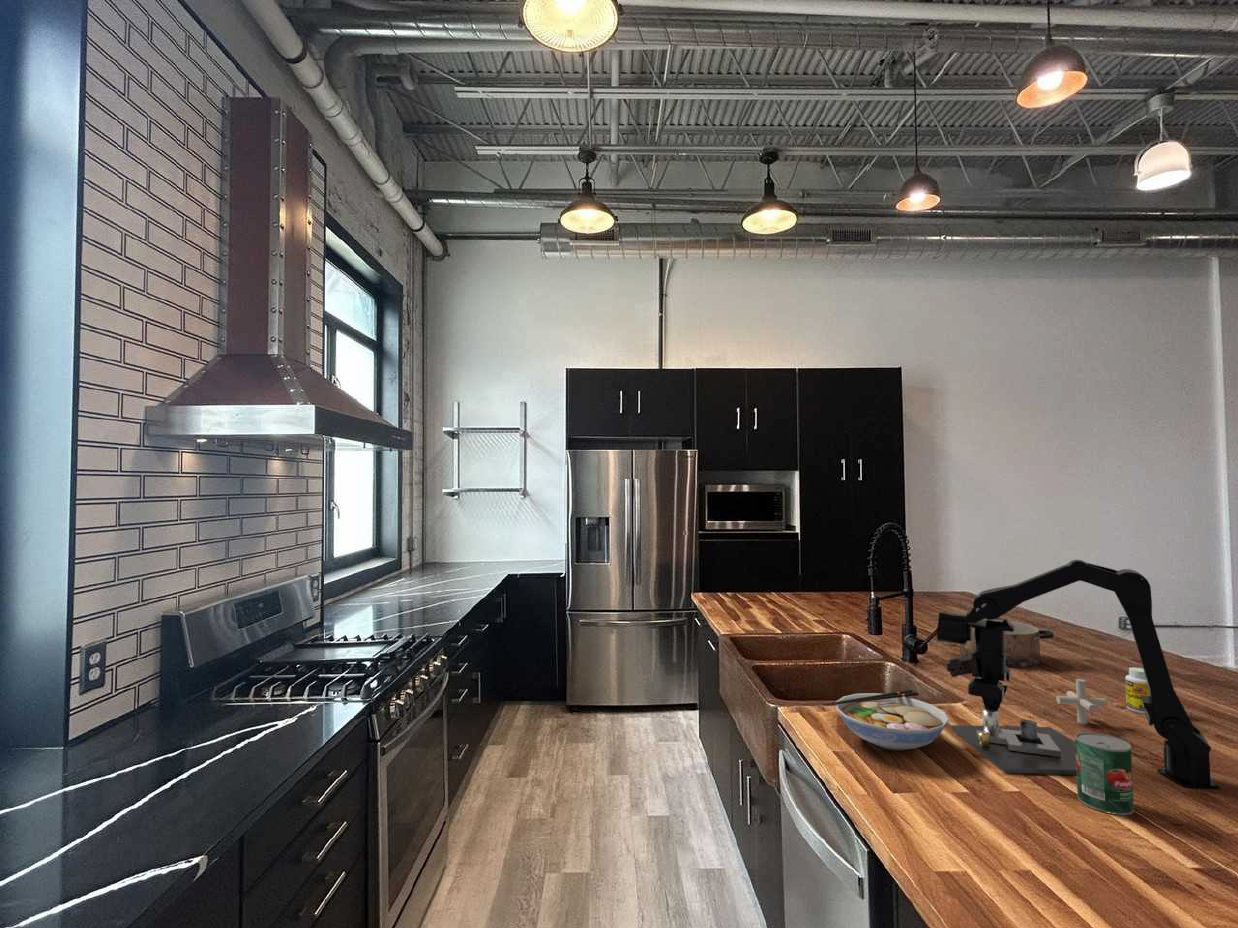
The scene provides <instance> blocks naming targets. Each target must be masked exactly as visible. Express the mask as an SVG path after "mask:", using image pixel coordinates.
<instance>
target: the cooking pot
mask: <svg viewBox="0 0 1238 928" xmlns="http://www.w3.org/2000/svg"><path fill="white" fill-rule="evenodd" d="M986 620H987V619H983V620H980V621H978V622H977V623H986ZM1003 620H1004V619H1002V620H1001V619H993V621H1003ZM1008 621H1009V620H1008ZM1009 622H1010V623H1011V624H1012V625H1013V626H1014V627H1015V628H1014V631H1013V632H1009V631H1005V653H1006V659H1005V666H1007V667H1008V668H1009V669H1010V668H1013V669H1014V668H1015V669H1025V668H1026V667H1029V668H1034V666H1035V667H1037V666H1039V665H1040V663H1041V651H1040V650H1041V649H1040V643H1041V642H1040V640H1045V639H1053V638H1054V637H1055V635H1054V632H1053V631H1051V630H1043V629H1042V630H1041V629H1039V628H1038V627H1035V626H1034V625H1031V624H1030V625H1029V624H1026V623H1021V622H1017V621H1009ZM959 649H960V651H959V652H960V655H961V657H964V656H972V654H973V653H974V651H975V627H972V641H967V642H966V645H962V644H959Z"/></svg>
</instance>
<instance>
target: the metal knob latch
mask: <svg viewBox="0 0 1238 928" xmlns="http://www.w3.org/2000/svg"><path fill="white" fill-rule="evenodd" d="M981 710H982V712H981V713H982V726H983V731H982V732H987V733H989V742H990V743H998V744H1006V745H1007V747H1008V749H1009V750H1012V751H1019V752H1027V753H1034V754H1042V755H1050V756H1057V757H1061V751H1060V749H1059V748H1058V747H1057V745H1056V744H1055V743H1054V741H1053V740H1052V739H1051V737H1050V736H1049V735H1048V734H1040V733H1037V736H1038V743H1039V744H1033V743H1025V742H1019V740H1021V732H1020V731H1015V730H1007V729H1000V733H999V726H1000V722H999V721H1000V718H999V716H1000V715H999V713H1000V712H999V710H998V711H997V710H994V709H990V708H985V707H984V708H982V709H981ZM978 732H980V731H978V730H976V736H977V738H978V740H979V737H978Z"/></svg>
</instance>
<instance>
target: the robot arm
mask: <svg viewBox="0 0 1238 928" xmlns="http://www.w3.org/2000/svg"><path fill="white" fill-rule="evenodd" d="M1076 582H1084V583H1087V584H1090V585H1093V586H1095V587H1099V588H1102V589H1104V590H1107V591H1111V592H1114V594H1115V596H1116V597H1117V599H1118V601H1119V603H1120V605H1121V607H1122V609H1123V610H1124V613H1125V615H1126V616H1127V619H1128V622H1129V626H1130V629H1131V633H1132V637H1133V638H1134V644H1135V646H1136V649H1137V652H1138V656H1139V659H1140V662H1141V665H1142V669H1143V670H1144V673H1145V676H1146V680H1147V683H1148V696H1144V695H1140V697H1141V700H1142V702H1143V704H1144V706H1145V708H1146V712H1145V714H1144V716H1145V718H1146V720H1147V722H1148V725H1149V726H1153V727H1154V729H1155V731H1156V732H1157V734H1158V735H1159V736H1161V737H1162V738H1164V739H1165V740H1164V741H1163V744H1164V746H1163V763H1164V765H1163V767H1164V768H1156V772H1157V773H1159V774H1160V775H1162V776H1164V777H1166V778H1168V779H1170V780H1171V781H1173V782H1175V783H1176V784H1178V785H1181V786H1182V787H1184V788H1204V789H1207V788H1210V789H1211V788H1212V789H1213V788H1214V789H1220V788H1221V786H1220V784H1219V783H1217V782H1215V781H1213V780H1211V777H1212V776H1211V760H1210V759H1211V758H1210V752H1211V751H1212V747H1211V746H1210V743H1209V742H1208V740H1207V739H1206V737H1205V736H1204V733H1202V731H1201V730H1200V729H1198V728H1197V727H1196V726H1195V725H1194V724H1193V722H1192V721H1191V718H1190V717H1189V715H1188V713H1187V711H1186V710H1185V707H1184V705H1183V703H1182V702H1181V700H1180V698H1179V696H1178V694H1177V693H1176V691H1175V689H1174V685H1173V683H1172V678H1171V676H1170V672H1169V670H1168V666H1167V663H1166V659H1165V656H1164V652H1163V650H1162V646H1161V643H1160V639H1159V636H1158V633H1157V630H1156V626H1155V623H1154V620H1153V600H1152V598H1153V597H1152V588H1151V585H1150V582H1149V581H1148V579H1147V578H1146V577H1145V576H1144V575H1143V574H1141V573H1140V572H1139V571H1137V570H1134V569H1130V568H1128V569H1127V568H1123V569H1119V570H1116V569H1113V568H1110V567H1106V566H1101V565H1097V564H1095V563H1094V564H1092V563H1089V562H1086V561H1084V560H1081V559H1073V560H1070V561H1069V562H1067V563H1066V564H1063V565H1060V566H1059V567H1056V568H1053V569H1051V570H1048V571H1046V572H1045V571H1044V572H1043V573H1041V574H1038V575H1036V576H1033V577H1031V578H1028V579H1025V580H1024V581H1021V582H1020V581H1019V582H1018V583H1015V584H1010V585H1006V586H1001V587H995V588H991V589H990V588H989V589H985V590H983V591H980V592H979V593H978V594H977V595H976V597H974V600H973V603H972V606H973V607H972V609H970V610H968V611H967V612H966V613H965V614H959V613H958V614H957V613H950V612H948V611H940V612H938V620H937V627H936V638H937V642H942V643H949V644H956V645H960V644H962V645H966V642H967V641H972V627H975V651H974V653H973V654H972V656H964V657H963V656H957V657H953V658H949V659H947V661H946V663H945V664H946V666H947V668H946V671H947V672H948V673H949V674H950V677H952V678H956V677H958V676H964V675H969V674H971V677H974V678H973V679H972V680H970V681H969V683H968V685H967V689H968V690H967V691H968V694H969V695H970V696H975V697H980V698H981V700H982V702H983V706H984V708H990V709H994V710H997V711H998V712H999V709H1000V706H1001V704H1002V702H1003V699H1004V698H1005V695H1006V693H1007V690H1008V686H1007V685H1004V684H1003V682H1005V680H1006V682H1010V681H1011V678H1012V676H1011V672H1012V671H1011V669H1010V668H1009V667H1007V666H1005V659H1006V653H1005V631H1009V632H1013V631H1014V628H1015V627H1014V626H1013V625H1012V624H1011V623H1010V622H1009V619H1008V618H1007V617H1006V618H1004V619H1002V620H1003V621H993V620H998V619H999V618H1000V617H1002V616H1003V615H1005V614H1006V613H1008V612H1010V611H1012V610H1013V609H1015V608H1016V607H1017V606H1019V605H1021V604H1023V603H1024V602H1027V601H1029V600H1031V599H1034V598H1037V597H1040V596H1043V595H1045V594H1048V593H1050V592H1051V593H1052V592H1053V591H1055V590H1058V589H1061V588H1063V587H1064V588H1065V587H1067V586H1069V585H1071V584H1074V583H1076ZM983 619H987V620H986V623H977V622H978V621H980V620H983Z"/></svg>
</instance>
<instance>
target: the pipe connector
mask: <svg viewBox="0 0 1238 928" xmlns="http://www.w3.org/2000/svg"><path fill="white" fill-rule="evenodd" d="M1075 683H1076V684H1075V690H1076V692H1074V691H1072V690H1068V691H1066V694H1065V695H1057V696H1056V697H1055V698H1056V703H1057V704H1058V705H1073V706H1074V705H1076V717H1077V718H1076V719H1077V723H1078V724H1082V725H1087V724H1088V713H1087V711H1088V712H1090V713H1093V714H1094V713H1097V712H1098V711H1099V710H1098V709H1099V708H1098V707H1108V700H1107V699H1106V698H1104V697H1103V698H1102V697H1101V698H1100V697H1087V688H1086V687H1087V686H1086V685H1087V684H1086V680H1085V679H1082V678H1076V679H1075Z"/></svg>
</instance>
